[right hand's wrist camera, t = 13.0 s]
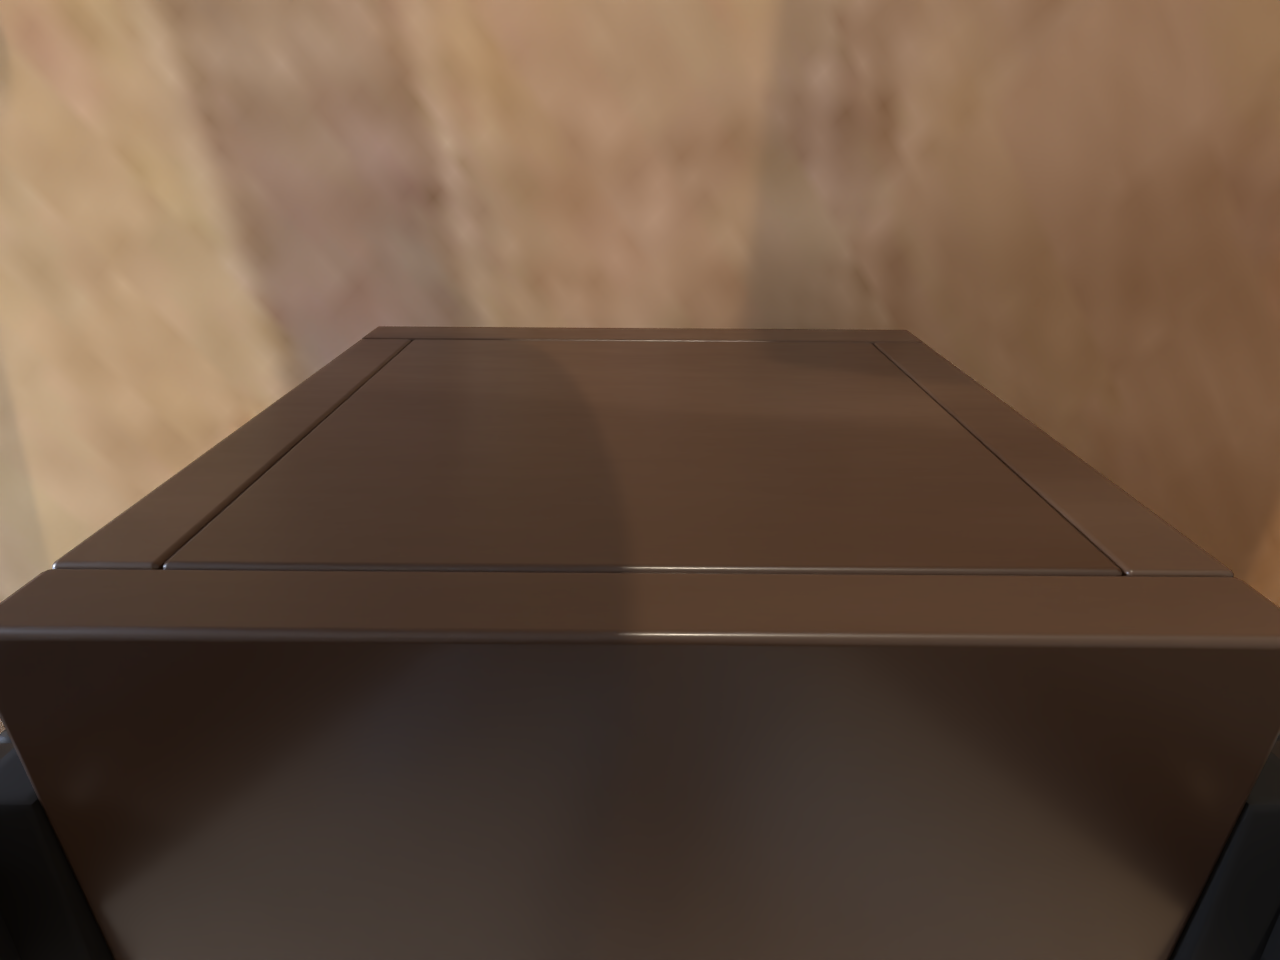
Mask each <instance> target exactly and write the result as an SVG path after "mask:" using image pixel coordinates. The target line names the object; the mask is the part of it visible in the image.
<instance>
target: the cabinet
mask: <svg viewBox="0 0 1280 960" xmlns="http://www.w3.org/2000/svg"><path fill="white" fill-rule="evenodd" d="M0 718H1V720H2V722H3V725H4V727H5V729H6V731H7V733H8V735H9V737H10V739H11V742H12V744H13V746H14V748H15V750H16V752H17V754H18V757H19V759H20V761H21V763H22V765H23V767H24V769H25V771H26V774H27V776H28V778H29V780H30V782H31V784H32V786H33V789H34V791H35V793H36V795H37V797H38V799H39V801H40V804H41V806H42V808H43V810H44V812H45V814H46V816H47V818H48V821H49V823H50V825H51V827H52V829H53V831H54V833H55V836H56V838H57V840H58V842H59V844H60V846H61V848H62V850H63V853H64V855H65V857H66V859H67V861H68V863H69V865H70V868H71V870H72V872H73V874H74V876H75V878H76V880H77V883H78V885H79V887H80V889H81V891H82V893H83V895H84V897H85V900H86V902H87V904H88V906H89V908H90V910H91V912H92V915H93V917H94V919H95V921H96V923H97V925H98V927H99V929H100V932H101V934H102V936H103V938H104V940H105V942H106V944H107V947H108V949H109V951H110V953H111V955H112V957H113V959H114V960H1169V959H1170V957H1171V954H1172V952H1173V950H1174V948H1175V946H1176V944H1177V942H1178V940H1179V938H1180V936H1181V934H1182V932H1183V930H1184V928H1185V926H1186V924H1187V922H1188V920H1189V918H1190V916H1191V914H1192V912H1193V910H1194V908H1195V905H1196V903H1197V901H1198V899H1199V897H1200V895H1201V893H1202V891H1203V889H1204V887H1205V885H1206V883H1207V881H1208V879H1209V877H1210V875H1211V873H1212V871H1213V869H1214V867H1215V865H1216V863H1217V861H1218V859H1219V856H1220V854H1221V852H1222V850H1223V848H1224V846H1225V844H1226V842H1227V840H1228V838H1229V836H1230V834H1231V832H1232V830H1233V828H1234V826H1235V824H1236V822H1237V820H1238V818H1239V816H1240V814H1241V812H1242V810H1243V808H1244V805H1245V803H1246V801H1247V799H1248V797H1249V795H1250V793H1251V791H1252V789H1253V787H1254V785H1255V783H1256V781H1257V779H1258V777H1259V775H1260V773H1261V771H1262V769H1263V767H1264V765H1265V763H1266V761H1267V759H1268V756H1269V754H1270V752H1271V750H1272V748H1273V746H1274V744H1275V742H1276V740H1277V738H1278V736H1279V734H1280V608H1279V607H1278V606H1276V605H1275V604H1273V603H1272V602H1271V601H1269V600H1268V599H1267V598H1265V597H1264V596H1263V595H1261V594H1260V593H1259V592H1257V591H1256V590H1255V589H1253V588H1252V587H1251V586H1249V585H1248V584H1247V583H1245V582H1244V581H1242V580H1240V579H1237V578H1234V577H1233V572H1232V570H1230V569H1229V568H1228V567H1226V566H1225V565H1223V564H1222V563H1221V562H1219V561H1218V560H1217V559H1215V558H1214V557H1213V556H1211V555H1210V554H1209V553H1207V552H1206V551H1205V550H1203V549H1202V548H1200V547H1199V546H1198V545H1196V544H1195V543H1194V542H1192V541H1191V540H1190V539H1188V538H1187V537H1186V536H1184V535H1183V534H1182V533H1180V532H1179V531H1177V530H1176V529H1175V528H1173V527H1172V526H1171V525H1169V524H1168V523H1167V522H1165V521H1164V520H1163V519H1161V518H1160V517H1158V516H1157V515H1156V514H1154V513H1153V512H1152V511H1150V510H1149V509H1148V508H1146V507H1145V506H1144V505H1142V504H1141V503H1140V502H1138V501H1137V500H1135V499H1134V498H1133V497H1131V496H1130V495H1129V494H1127V493H1126V492H1125V491H1123V490H1122V489H1121V488H1119V487H1118V486H1117V485H1115V484H1114V483H1112V482H1111V481H1110V480H1108V479H1107V478H1106V477H1104V476H1103V475H1102V474H1100V473H1099V472H1098V471H1096V470H1095V469H1094V468H1092V467H1091V466H1089V465H1088V464H1087V463H1085V462H1084V461H1083V460H1081V459H1080V458H1079V457H1077V456H1076V455H1075V454H1073V453H1072V452H1071V451H1069V450H1068V449H1066V448H1065V447H1064V446H1062V445H1061V444H1060V443H1058V442H1057V441H1056V440H1054V439H1053V438H1052V437H1050V436H1049V435H1048V434H1046V433H1045V432H1043V431H1042V430H1041V429H1039V428H1038V427H1037V426H1035V425H1034V424H1033V423H1031V422H1030V421H1029V420H1027V419H1026V418H1025V417H1023V416H1022V415H1020V414H1019V413H1018V412H1016V411H1015V410H1014V409H1012V408H1011V407H1010V406H1008V405H1007V404H1006V403H1004V402H1003V401H1002V400H1000V399H999V398H997V397H996V396H995V395H993V394H992V393H991V392H989V391H988V390H987V389H985V388H984V387H983V386H981V385H980V384H979V383H977V382H976V381H974V380H973V379H972V378H970V377H969V376H968V375H966V374H965V373H964V372H962V371H961V370H960V369H958V368H957V367H956V366H954V365H953V364H951V363H950V362H949V361H947V360H946V359H945V358H943V357H942V356H941V355H939V354H938V353H937V352H935V351H934V350H933V349H931V348H930V347H928V346H927V345H926V344H924V343H923V342H922V341H921V340H919V339H918V338H917V337H915V336H914V335H912V334H911V333H910V332H908V331H907V330H815V329H667V328H520V327H377V328H376V329H374V330H373V331H372V332H370V333H369V334H368V335H366V336H365V337H363V338H362V340H360V341H359V342H357V343H356V344H354V345H353V346H352V347H350V348H349V349H348V350H346V351H345V352H343V353H342V354H341V355H339V356H338V357H337V358H335V359H334V360H332V361H331V362H330V363H328V364H327V365H326V366H324V367H323V368H321V369H320V370H319V371H317V372H316V373H314V374H313V375H312V376H310V377H309V378H308V379H306V380H305V381H303V382H302V383H301V384H299V385H298V386H297V387H295V388H294V389H292V390H291V391H290V392H288V393H287V394H286V395H284V396H283V397H281V398H280V399H279V400H277V401H276V402H275V403H273V404H272V405H270V406H269V407H268V408H266V409H265V410H264V411H262V412H261V413H259V414H258V415H257V416H255V417H254V418H252V419H251V420H250V421H248V422H247V423H246V424H244V425H243V426H241V427H240V428H239V429H237V430H236V431H235V432H233V433H232V434H230V435H229V436H228V437H226V438H225V439H224V440H222V441H221V442H219V443H218V444H217V445H215V446H214V447H213V448H211V449H210V450H208V451H207V452H206V453H204V454H203V455H202V456H200V457H199V458H197V459H196V460H195V461H193V462H192V463H190V464H189V465H188V466H186V467H185V468H184V469H182V470H181V471H179V472H178V473H177V474H175V475H174V476H173V477H171V478H170V479H168V480H167V481H166V482H164V483H163V484H162V485H160V486H159V487H157V488H156V489H155V490H153V491H152V492H151V493H149V494H148V495H146V496H145V497H144V498H142V499H141V500H140V501H138V502H137V503H135V504H134V505H133V506H131V507H130V508H128V509H127V510H126V511H124V512H123V513H122V514H120V515H119V516H117V517H116V518H115V519H113V520H112V521H111V522H109V523H108V524H106V525H105V526H104V527H102V528H101V529H100V530H98V531H97V532H95V533H94V534H93V535H91V536H90V537H89V538H87V539H86V540H84V541H83V542H82V543H80V544H79V545H78V546H76V547H75V548H73V549H72V550H71V551H69V552H68V553H66V554H65V555H64V556H62V557H61V558H60V559H58V560H57V561H55V562H54V564H53V569H51V570H47V571H45V572H42V573H41V574H39V575H38V576H37V577H35V578H34V579H32V580H31V581H30V582H28V583H27V584H26V585H24V586H23V587H21V588H20V589H19V590H17V591H16V592H15V593H13V594H12V595H10V596H9V597H8V598H6V599H5V600H4V601H2V602H1V603H0Z"/></svg>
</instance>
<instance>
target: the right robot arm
mask: <svg viewBox="0 0 1280 960" xmlns="http://www.w3.org/2000/svg"><path fill="white" fill-rule="evenodd" d="M0 960H114V959H113V957H112V955H111V953H110V951H109V949H108V947H107V944H106V942H105V940H104V938H103V936H102V934H101V932H100V929H99V927H98V925H97V923H96V921H95V919H94V917H93V915H92V912H91V910H90V908H89V906H88V904H87V902H86V900H85V897H84V895H83V893H82V891H81V889H80V887H79V885H78V883H77V880H76V878H75V876H74V874H73V872H72V870H71V868H70V865H69V863H68V861H67V859H66V857H65V855H64V853H63V850H62V848H61V846H60V844H59V842H58V840H57V838H56V836H55V833H54V831H53V829H52V827H51V825H50V823H49V821H48V818H47V816H46V814H45V812H44V810H43V808H42V806H41V804H40V801H39V799H38V797H37V795H36V793H35V791H34V789H33V786H32V784H31V782H30V780H29V778H28V776H27V774H26V771H25V769H24V767H23V765H22V763H21V761H20V759H19V757H18V754H17V752H16V750H15V748H14V746H13V744H12V742H11V739H10V737H9V735H8V733H7V731H6V729H5V730H4V731H3V732H2V733H1V734H0ZM1169 960H1280V734H1279V736H1278V738H1277V740H1276V742H1275V744H1274V746H1273V748H1272V750H1271V752H1270V754H1269V756H1268V759H1267V761H1266V763H1265V765H1264V767H1263V769H1262V771H1261V773H1260V775H1259V777H1258V779H1257V781H1256V783H1255V785H1254V787H1253V789H1252V791H1251V793H1250V795H1249V797H1248V799H1247V801H1246V803H1245V805H1244V808H1243V810H1242V812H1241V814H1240V816H1239V818H1238V820H1237V822H1236V824H1235V826H1234V828H1233V830H1232V832H1231V834H1230V836H1229V838H1228V840H1227V842H1226V844H1225V846H1224V848H1223V850H1222V852H1221V854H1220V856H1219V859H1218V861H1217V863H1216V865H1215V867H1214V869H1213V871H1212V873H1211V875H1210V877H1209V879H1208V881H1207V883H1206V885H1205V887H1204V889H1203V891H1202V893H1201V895H1200V897H1199V899H1198V901H1197V903H1196V905H1195V908H1194V910H1193V912H1192V914H1191V916H1190V918H1189V920H1188V922H1187V924H1186V926H1185V928H1184V930H1183V932H1182V934H1181V936H1180V938H1179V940H1178V942H1177V944H1176V946H1175V948H1174V950H1173V952H1172V954H1171V957H1170V959H1169Z"/></svg>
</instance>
